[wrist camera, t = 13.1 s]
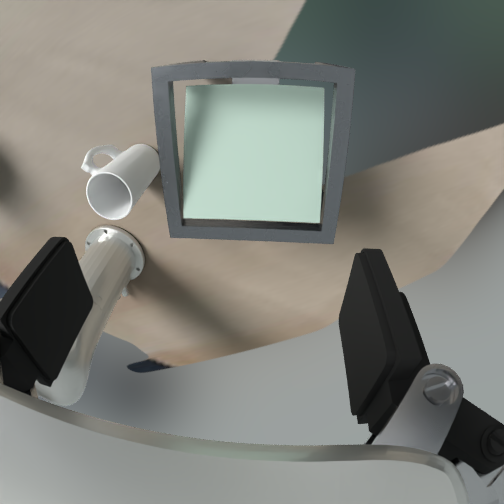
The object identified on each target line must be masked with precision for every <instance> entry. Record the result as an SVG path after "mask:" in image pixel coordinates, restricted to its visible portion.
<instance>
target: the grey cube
mask: <svg viewBox="0 0 504 504" xmlns="http://www.w3.org/2000/svg"><path fill="white" fill-rule="evenodd" d="M234 61H277V62H280V61H278V60H234ZM232 84H270V85H279V78H232Z"/></svg>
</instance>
